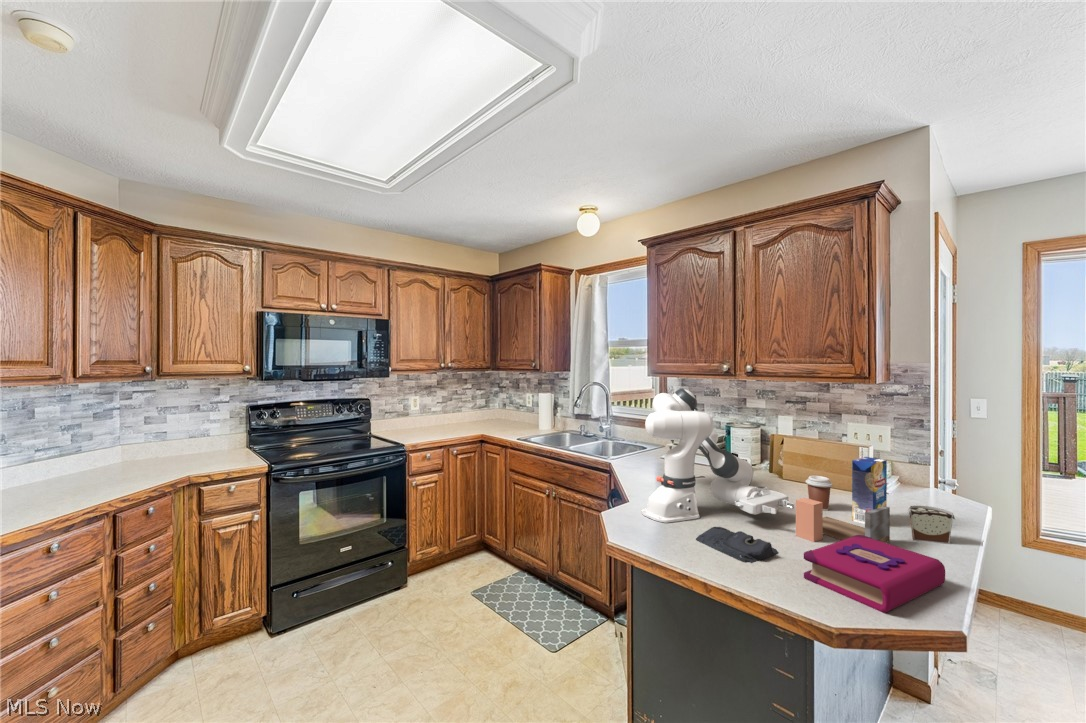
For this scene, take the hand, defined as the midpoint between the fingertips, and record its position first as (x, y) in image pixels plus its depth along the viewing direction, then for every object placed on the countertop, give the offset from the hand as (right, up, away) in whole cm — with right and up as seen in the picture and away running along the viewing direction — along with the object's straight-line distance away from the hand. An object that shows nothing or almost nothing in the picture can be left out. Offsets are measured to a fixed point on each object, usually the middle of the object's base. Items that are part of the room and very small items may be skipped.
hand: (785, 509), depth 160 cm
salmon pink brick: (+4, -7, -8) cm, 11 cm away
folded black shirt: (-23, -8, -14) cm, 28 cm away
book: (+3, -8, -38) cm, 38 cm away
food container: (+42, -7, -9) cm, 43 cm away
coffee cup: (+25, -7, +21) cm, 33 cm away
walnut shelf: (+18, -7, -6) cm, 20 cm away
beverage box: (+35, -7, +7) cm, 36 cm away
